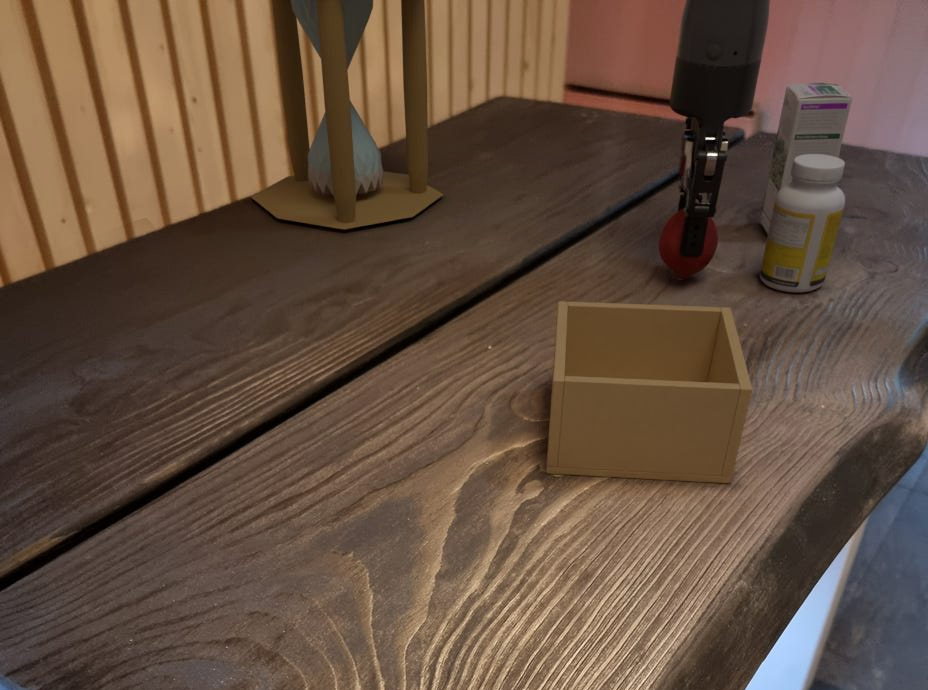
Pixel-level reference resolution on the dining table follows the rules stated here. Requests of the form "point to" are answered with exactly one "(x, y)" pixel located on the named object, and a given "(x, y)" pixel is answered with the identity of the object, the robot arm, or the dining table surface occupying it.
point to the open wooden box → (647, 392)
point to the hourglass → (347, 122)
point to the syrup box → (805, 133)
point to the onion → (671, 247)
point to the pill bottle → (804, 225)
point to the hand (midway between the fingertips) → (687, 243)
